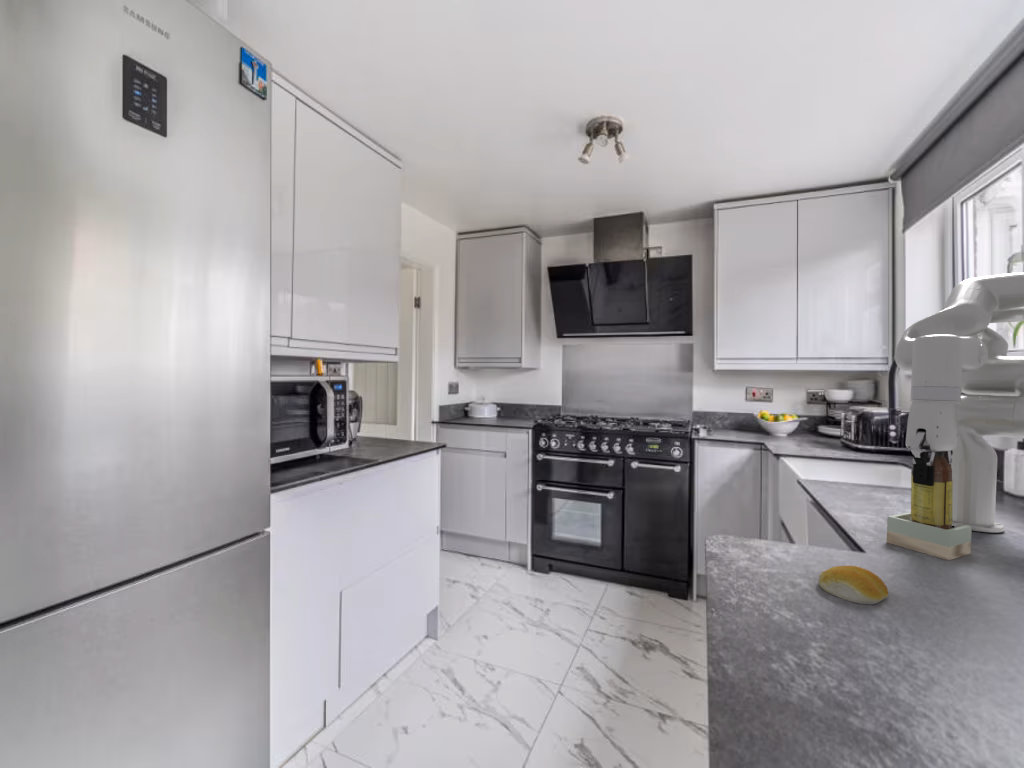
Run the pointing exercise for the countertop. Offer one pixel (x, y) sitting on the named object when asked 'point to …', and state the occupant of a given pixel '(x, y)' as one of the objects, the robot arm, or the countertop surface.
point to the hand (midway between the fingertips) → (931, 482)
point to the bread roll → (853, 584)
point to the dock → (928, 537)
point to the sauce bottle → (934, 496)
